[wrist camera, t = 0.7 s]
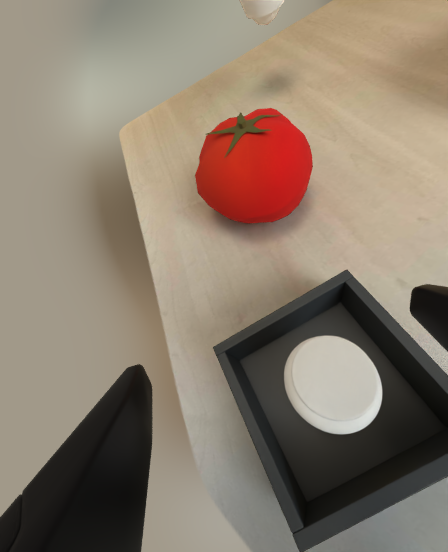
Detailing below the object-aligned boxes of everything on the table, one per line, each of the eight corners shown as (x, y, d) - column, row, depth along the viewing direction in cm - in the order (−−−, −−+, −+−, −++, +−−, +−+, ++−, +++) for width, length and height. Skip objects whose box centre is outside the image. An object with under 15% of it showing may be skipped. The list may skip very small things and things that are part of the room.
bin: (465, 434, 17) (512, 443, 13) (304, 520, 17) (300, 553, 13) (341, 292, 24) (346, 269, 20) (229, 357, 24) (212, 347, 20)
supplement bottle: (284, 408, 20) (263, 407, 12) (301, 346, 22) (292, 310, 14) (356, 440, 18) (387, 466, 10) (368, 368, 20) (404, 340, 12)
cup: (248, 102, 44) (203, -93, 27) (270, 77, 46) (242, -124, 28) (281, 105, 41) (255, -119, 23) (305, 78, 42) (297, -153, 25)
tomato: (332, 181, 30) (338, 86, 21) (278, 258, 28) (259, 187, 19) (247, 161, 37) (225, 83, 28) (197, 221, 34) (155, 157, 26)
